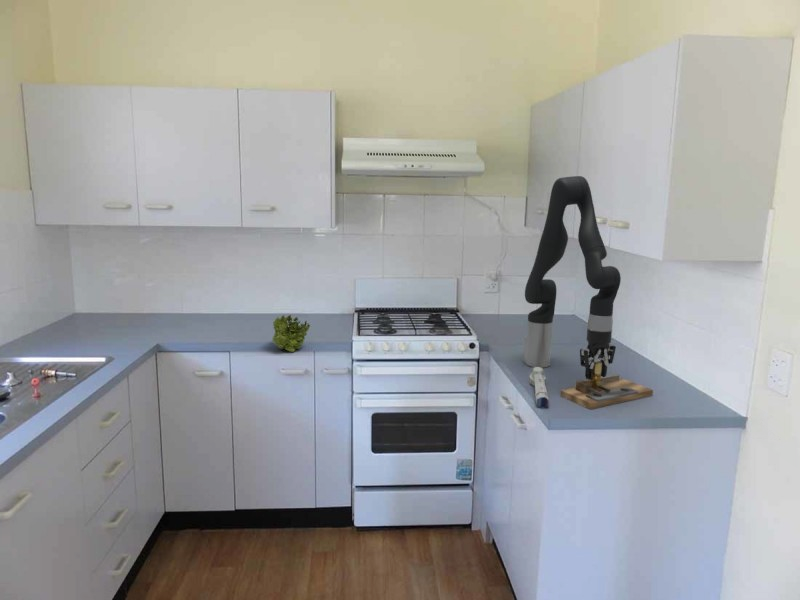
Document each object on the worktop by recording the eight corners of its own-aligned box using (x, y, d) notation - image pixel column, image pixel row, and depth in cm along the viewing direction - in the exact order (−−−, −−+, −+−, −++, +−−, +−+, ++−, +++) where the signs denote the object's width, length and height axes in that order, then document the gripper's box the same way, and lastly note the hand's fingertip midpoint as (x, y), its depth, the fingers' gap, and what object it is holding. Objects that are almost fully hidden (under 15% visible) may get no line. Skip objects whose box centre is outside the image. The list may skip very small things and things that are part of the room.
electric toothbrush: (534, 396, 175) (530, 362, 198) (533, 415, 177) (528, 379, 201) (551, 397, 174) (545, 363, 198) (550, 416, 176) (544, 380, 200)
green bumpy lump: (261, 334, 240) (287, 307, 245) (288, 359, 242) (314, 332, 247) (263, 330, 223) (291, 301, 228) (292, 357, 225) (319, 328, 230)
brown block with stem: (575, 389, 186) (576, 381, 185) (582, 388, 187) (583, 379, 187) (593, 397, 179) (594, 388, 178) (600, 396, 180) (601, 387, 180)
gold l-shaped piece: (586, 387, 188) (588, 361, 186) (593, 385, 190) (595, 360, 188) (605, 394, 181) (607, 368, 180) (612, 393, 183) (614, 366, 181)
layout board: (560, 395, 186) (561, 384, 185) (621, 383, 199) (622, 372, 198) (590, 409, 175) (591, 397, 174) (652, 395, 187) (653, 384, 187)
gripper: (606, 323, 190) (602, 371, 193) (574, 327, 183) (571, 377, 187) (624, 328, 183) (620, 378, 186) (592, 332, 177) (587, 384, 180)
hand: (595, 377), depth 186 cm, fingers open, 5 cm apart
